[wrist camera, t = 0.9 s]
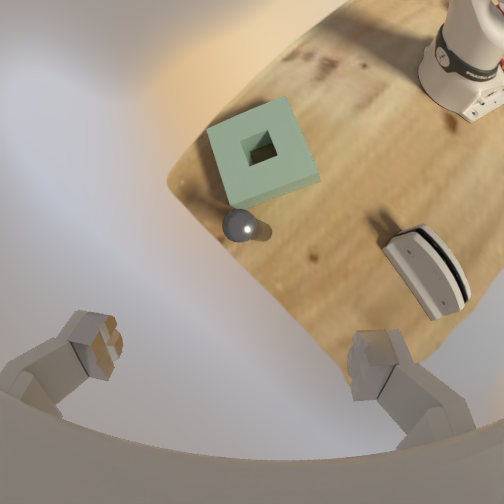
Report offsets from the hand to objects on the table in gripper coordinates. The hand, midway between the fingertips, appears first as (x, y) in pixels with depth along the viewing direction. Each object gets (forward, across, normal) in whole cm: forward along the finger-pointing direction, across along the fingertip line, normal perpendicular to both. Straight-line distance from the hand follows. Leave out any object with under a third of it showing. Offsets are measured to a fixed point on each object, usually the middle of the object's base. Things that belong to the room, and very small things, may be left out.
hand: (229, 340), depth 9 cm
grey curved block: (+33, -29, +17) cm, 47 cm away
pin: (+41, 0, +15) cm, 44 cm away
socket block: (+47, -1, +3) cm, 47 cm away
